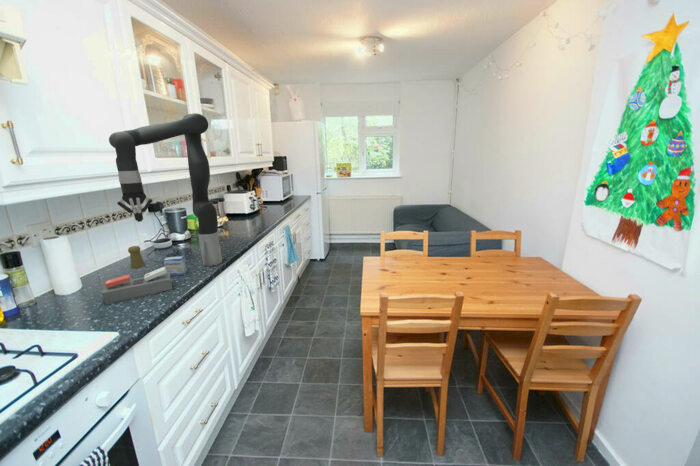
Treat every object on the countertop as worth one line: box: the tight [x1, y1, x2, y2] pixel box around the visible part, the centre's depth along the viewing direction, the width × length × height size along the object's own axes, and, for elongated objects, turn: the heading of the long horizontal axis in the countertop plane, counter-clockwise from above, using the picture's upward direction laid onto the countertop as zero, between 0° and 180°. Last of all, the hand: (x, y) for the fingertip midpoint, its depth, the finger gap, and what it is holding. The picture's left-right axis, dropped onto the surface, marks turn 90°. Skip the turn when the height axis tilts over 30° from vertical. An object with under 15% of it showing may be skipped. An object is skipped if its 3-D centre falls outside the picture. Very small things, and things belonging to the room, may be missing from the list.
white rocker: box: [143, 266, 166, 281], centre depth 126 cm, size 8×4×2 cm, turn 121°
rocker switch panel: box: [101, 272, 173, 305], centre depth 124 cm, size 23×9×6 cm, turn 122°
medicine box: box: [163, 255, 187, 277], centre depth 142 cm, size 8×4×9 cm, turn 105°
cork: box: [127, 245, 145, 269], centre depth 152 cm, size 6×6×11 cm
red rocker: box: [104, 273, 132, 288], centre depth 120 cm, size 8×4×2 cm, turn 122°
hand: (139, 221), depth 128 cm, fingers closed
